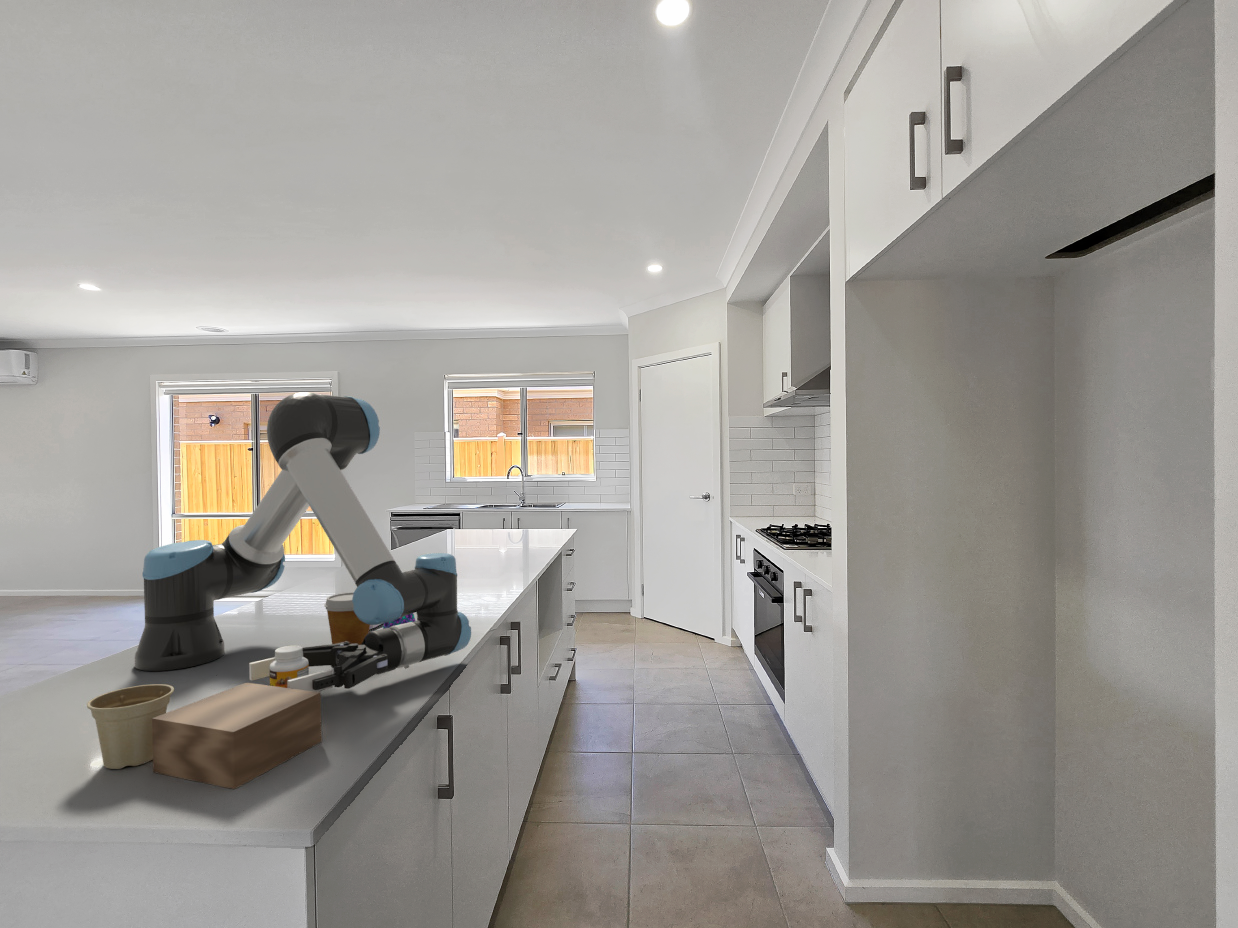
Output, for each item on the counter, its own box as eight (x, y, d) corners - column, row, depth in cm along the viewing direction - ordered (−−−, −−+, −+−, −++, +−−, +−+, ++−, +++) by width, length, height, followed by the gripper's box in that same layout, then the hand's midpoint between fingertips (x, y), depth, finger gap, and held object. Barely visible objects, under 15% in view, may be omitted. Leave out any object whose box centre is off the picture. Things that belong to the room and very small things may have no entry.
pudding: (423, 639, 146) (423, 616, 146) (367, 642, 144) (366, 619, 144) (429, 625, 158) (429, 604, 158) (377, 628, 156) (377, 606, 156)
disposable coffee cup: (383, 647, 139) (382, 591, 139) (361, 661, 130) (360, 601, 130) (340, 647, 140) (339, 591, 140) (315, 661, 131) (314, 601, 131)
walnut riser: (153, 772, 85) (152, 718, 85) (247, 729, 98) (246, 682, 98) (234, 788, 80) (233, 731, 80) (321, 741, 93) (320, 692, 93)
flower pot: (119, 745, 93) (118, 684, 93) (189, 742, 94) (188, 681, 94) (69, 777, 84) (68, 710, 84) (148, 773, 84) (146, 706, 84)
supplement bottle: (261, 717, 102) (260, 652, 102) (289, 704, 108) (288, 642, 108) (290, 721, 101) (289, 654, 101) (317, 707, 106) (316, 644, 106)
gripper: (433, 683, 110) (307, 724, 94) (356, 656, 126) (236, 687, 110) (432, 638, 110) (306, 672, 94) (355, 617, 126) (235, 642, 110)
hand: (268, 680), depth 102 cm, fingers open, 13 cm apart
